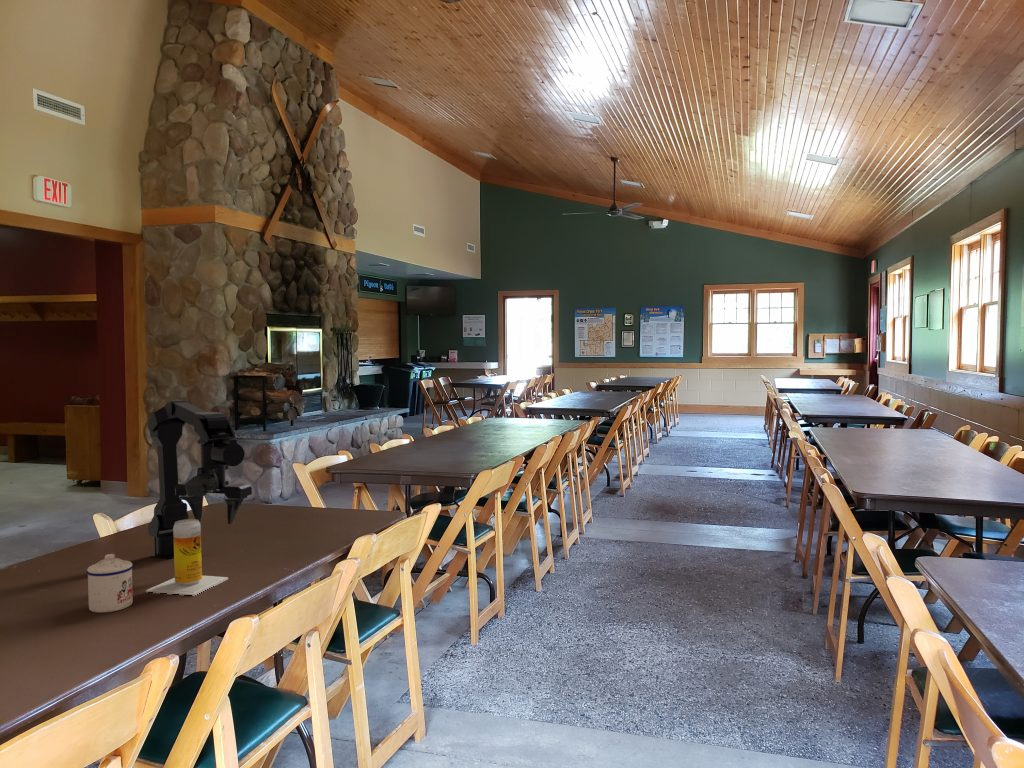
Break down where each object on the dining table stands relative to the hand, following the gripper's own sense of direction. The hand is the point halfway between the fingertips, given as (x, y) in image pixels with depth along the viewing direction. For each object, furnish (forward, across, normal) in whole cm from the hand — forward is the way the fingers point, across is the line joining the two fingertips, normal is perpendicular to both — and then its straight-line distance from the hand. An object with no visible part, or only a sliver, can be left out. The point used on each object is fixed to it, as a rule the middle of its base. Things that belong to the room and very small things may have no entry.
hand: (214, 523), depth 187 cm
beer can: (+12, 0, -10) cm, 16 cm away
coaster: (+13, 0, -11) cm, 17 cm away
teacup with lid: (+13, -8, -26) cm, 30 cm away
